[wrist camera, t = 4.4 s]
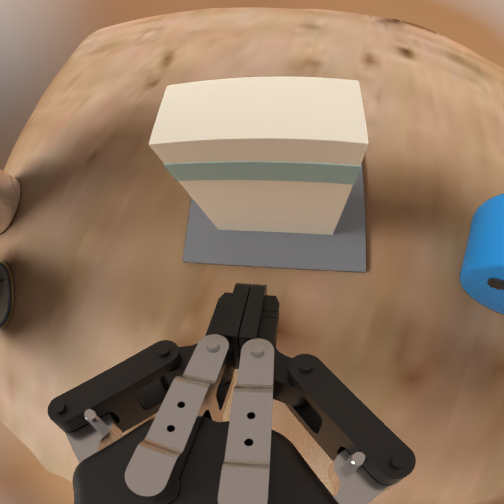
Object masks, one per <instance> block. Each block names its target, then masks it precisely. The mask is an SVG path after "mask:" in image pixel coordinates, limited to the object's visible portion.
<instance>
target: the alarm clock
mask: <svg viewBox="0 0 504 504" xmlns="http://www.w3.org/2000/svg"><path fill="white" fill-rule="evenodd" d="M460 282H461V285H462V287H463V289H464V290H465V291H466V293H467V294H468V295H469V296H471V297H472V298H473V299H474V300H476V301H477V302H479V303H480V304H482V305H484V306H486V307H488V308H490V309H492V310H494V311H496V312H499V313H501V314H504V194H501V195H498V196H495V197H493V198H491V199H489V200H487V201H486V202H484V203H483V204H482V205H481V206H480V207H479V208H478V209H477V210H476V212H475V213H474V215H473V218H472V221H471V227H470V232H469V237H468V242H467V247H466V252H465V256H464V260H463V265H462V269H461V272H460Z"/></svg>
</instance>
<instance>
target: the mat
mask: <svg viewBox="0 0 504 504" xmlns="http://www.w3.org/2000/svg"><path fill="white" fill-rule="evenodd" d="M183 262H186V263H201V264H216V265H233V266H249V267H267V268H284V269H303V270H323V271H343V272H366V227H365V201H364V184H363V171H362V163H361V169H360V172H359V174H358V177H357V179H356V182H355V184H354V185H353V186H352V189H351V191H350V194H349V196H348V199H347V201H346V204H345V206H344V209H343V211H342V214H341V216H340V218H339V221H338V223H337V226H336V228H335V230H334V233H333V235H325V234H306V233H285V232H262V231H236V230H218V229H217V228H216V226H215V225H214V224H213V223H212V221H211V220H210V219H209V218H208V217H207V215H206V214H205V213H204V212H203V211H202V209H201V208H200V207H199V206H198V205H197V203H196V202H195V201H194V200H193V198H192V199H191V205H190V211H189V218H188V225H187V232H186V239H185V246H184V254H183Z"/></svg>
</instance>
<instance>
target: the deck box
mask: <svg viewBox="0 0 504 504" xmlns="http://www.w3.org/2000/svg"><path fill="white" fill-rule="evenodd" d="M368 144H369V143H368V135H367V128H366V121H365V115H364V109H363V103H362V97H361V91H360V86H359V81H356V80H346V79H334V78H318V77H245V78H229V79H217V80H206V81H197V82H189V83H182V84H175V85H169V86H167V88H166V91H165V93H164V96H163V99H162V102H161V105H160V108H159V111H158V114H157V118H156V121H155V124H154V127H153V131H152V134H151V138H150V141H149V146H150V147H151V148H152V150H153V151H154V152H155V153H156V154H157V156H158V157H159V158H160V159H161V161H162V162H163V163H164V164H163V165H164V166H165V168H166V169H167V170H168V171H169V172H170V174H171V175H172V176H173V177H174V178H175V180H176V181H179V183H180V184H181V185H182V186H183V188H184V189H185V190H186V191H187V192H188V194H189V195H190V196H191V197H192V198H193V200H194V201H195V202H196V203H197V205H198V206H199V207H200V208H201V209H202V211H203V212H204V213H205V214H206V215H207V217H208V218H209V219H210V220H211V221H212V223H213V224H214V225H215V226H216V228H217V229H218V230H236V231H262V232H285V233H306V234H325V235H333V233H334V230H335V228H336V226H337V223H338V221H339V218H340V216H341V214H342V211H343V209H344V206H345V204H346V201H347V199H348V196H349V194H350V191H351V189H352V186H353V185H354V184H355V182H356V179H357V177H358V174H359V172H360V169H361V163H362V160H363V158H364V155H365V152H366V149H367V147H368Z"/></svg>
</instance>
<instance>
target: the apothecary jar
mask: <svg viewBox="0 0 504 504" xmlns="http://www.w3.org/2000/svg"><path fill="white" fill-rule="evenodd" d="M13 305H14V281H13V276H12V272H11V270H10V268H9V266H8V265H7V264H6V263H5V262H4V261H0V329H2V328H4V327H5V326H6V324H7V323H8V321H9V319H10V317H11V314H12V310H13Z"/></svg>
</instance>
